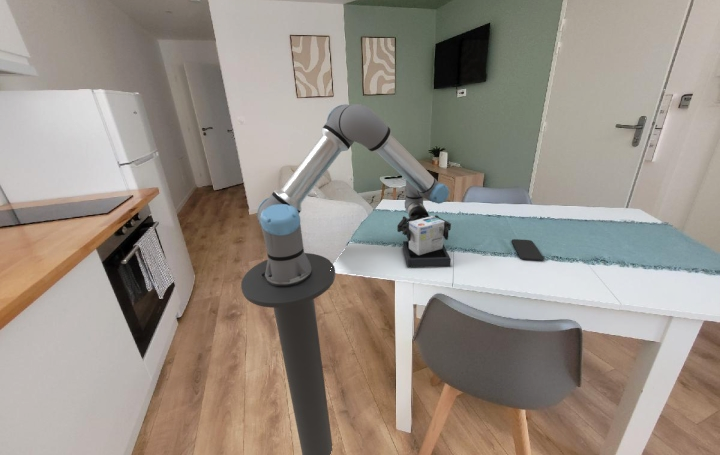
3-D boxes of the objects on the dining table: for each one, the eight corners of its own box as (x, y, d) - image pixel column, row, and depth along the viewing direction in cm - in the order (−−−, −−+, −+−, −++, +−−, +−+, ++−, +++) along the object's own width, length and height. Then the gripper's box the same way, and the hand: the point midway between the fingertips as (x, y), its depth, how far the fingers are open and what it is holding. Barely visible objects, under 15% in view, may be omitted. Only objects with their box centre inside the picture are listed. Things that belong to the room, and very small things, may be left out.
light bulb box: (431, 241, 109) (432, 215, 105) (443, 248, 103) (445, 220, 99) (407, 248, 105) (408, 220, 101) (418, 256, 99) (419, 227, 95)
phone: (520, 257, 100) (510, 238, 113) (520, 259, 100) (510, 240, 114) (544, 259, 98) (531, 240, 112) (544, 261, 99) (531, 242, 112)
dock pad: (407, 267, 99) (407, 259, 98) (402, 248, 112) (402, 241, 111) (450, 266, 98) (450, 258, 97) (440, 247, 112) (440, 240, 111)
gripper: (447, 221, 119) (463, 245, 99) (388, 223, 120) (392, 247, 100) (448, 204, 116) (465, 225, 96) (388, 206, 117) (392, 227, 97)
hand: (428, 236), depth 98 cm, fingers closed on light bulb box, 12 cm apart
